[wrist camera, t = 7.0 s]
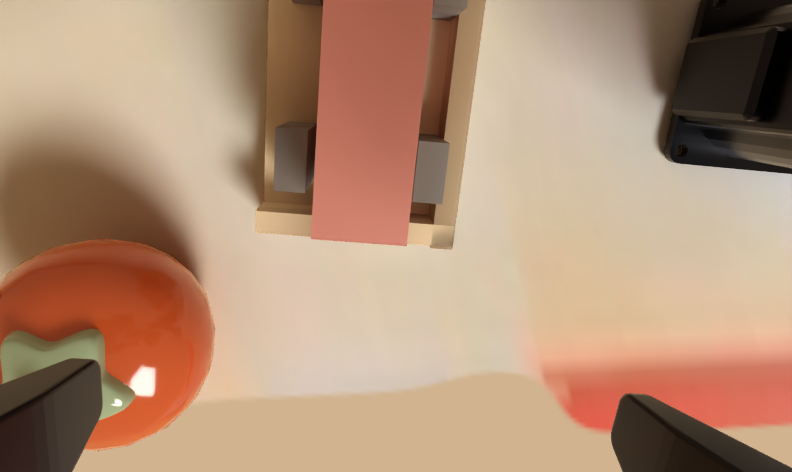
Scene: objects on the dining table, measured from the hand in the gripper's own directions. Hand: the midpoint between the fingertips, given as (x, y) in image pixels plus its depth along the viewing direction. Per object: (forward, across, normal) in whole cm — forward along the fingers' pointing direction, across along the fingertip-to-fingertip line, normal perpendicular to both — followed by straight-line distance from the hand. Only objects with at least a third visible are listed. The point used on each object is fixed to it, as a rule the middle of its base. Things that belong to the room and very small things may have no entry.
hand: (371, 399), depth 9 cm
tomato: (+13, +9, +4) cm, 16 cm away
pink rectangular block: (+12, 0, -6) cm, 13 cm away
